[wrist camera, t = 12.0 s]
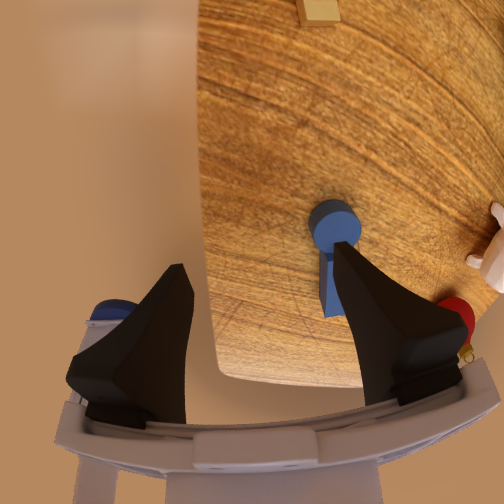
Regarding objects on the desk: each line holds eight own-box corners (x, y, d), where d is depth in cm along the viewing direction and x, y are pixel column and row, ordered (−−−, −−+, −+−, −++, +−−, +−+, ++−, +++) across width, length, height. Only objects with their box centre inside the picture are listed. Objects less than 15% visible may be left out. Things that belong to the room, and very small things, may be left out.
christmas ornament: (464, 279, 27) (500, 336, 19) (454, 312, 31) (481, 364, 23) (423, 296, 28) (457, 360, 20) (416, 328, 32) (441, 385, 24)
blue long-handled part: (347, 291, 27) (355, 312, 25) (310, 297, 27) (315, 319, 25) (354, 197, 21) (367, 214, 18) (307, 202, 21) (315, 221, 19)
